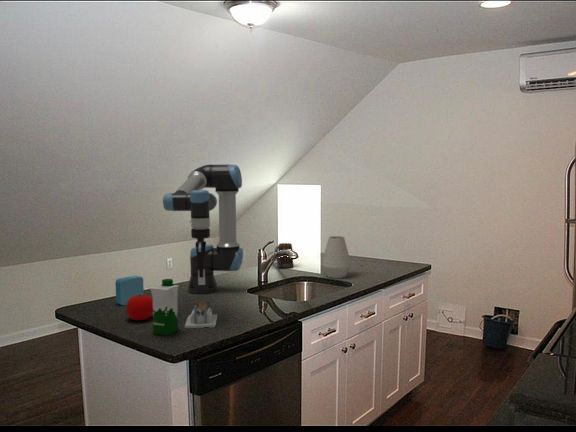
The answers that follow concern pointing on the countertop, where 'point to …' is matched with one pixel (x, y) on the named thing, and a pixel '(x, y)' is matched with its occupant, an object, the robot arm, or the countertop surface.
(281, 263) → the mug
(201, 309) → the wooden bar
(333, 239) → the vase
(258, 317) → the countertop surface
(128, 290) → the light blue flat block
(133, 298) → the tomato
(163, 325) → the milk carton
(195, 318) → the base
